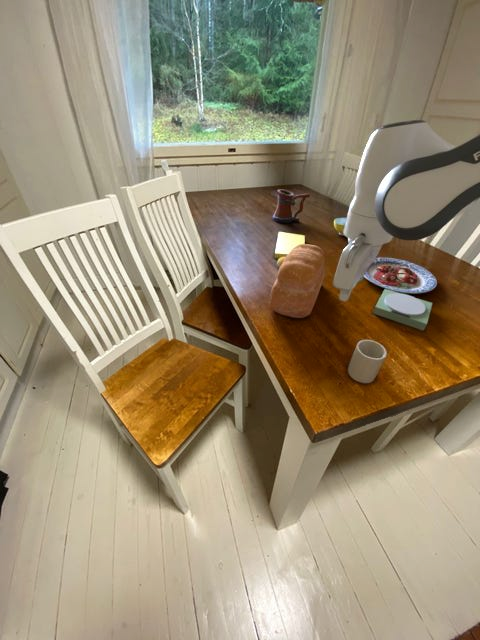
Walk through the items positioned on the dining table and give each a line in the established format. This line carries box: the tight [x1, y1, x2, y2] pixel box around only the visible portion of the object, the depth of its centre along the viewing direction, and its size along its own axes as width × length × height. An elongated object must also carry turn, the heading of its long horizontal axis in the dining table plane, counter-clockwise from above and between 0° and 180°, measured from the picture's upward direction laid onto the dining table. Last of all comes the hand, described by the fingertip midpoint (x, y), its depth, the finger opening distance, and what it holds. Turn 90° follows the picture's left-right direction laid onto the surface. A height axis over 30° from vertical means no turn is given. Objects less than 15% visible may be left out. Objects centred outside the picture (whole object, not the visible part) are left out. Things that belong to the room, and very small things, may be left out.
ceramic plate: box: [363, 257, 438, 294], centre depth 100 cm, size 26×26×3 cm
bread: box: [269, 243, 326, 319], centre depth 86 cm, size 14×26×15 cm, turn 156°
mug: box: [272, 188, 311, 224], centre depth 145 cm, size 18×12×15 cm, turn 76°
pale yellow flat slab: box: [274, 231, 306, 259], centre depth 121 cm, size 12×2×24 cm
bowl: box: [333, 217, 347, 237], centre depth 132 cm, size 11×12×6 cm
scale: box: [372, 288, 433, 331], centre depth 84 cm, size 14×13×3 cm
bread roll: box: [276, 257, 285, 269], centre depth 106 cm, size 8×9×4 cm
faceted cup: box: [347, 339, 388, 384], centre depth 63 cm, size 6×6×8 cm
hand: (350, 289), depth 60 cm, fingers open, 8 cm apart
